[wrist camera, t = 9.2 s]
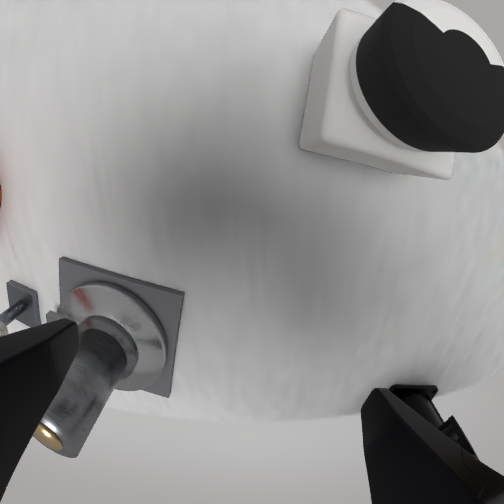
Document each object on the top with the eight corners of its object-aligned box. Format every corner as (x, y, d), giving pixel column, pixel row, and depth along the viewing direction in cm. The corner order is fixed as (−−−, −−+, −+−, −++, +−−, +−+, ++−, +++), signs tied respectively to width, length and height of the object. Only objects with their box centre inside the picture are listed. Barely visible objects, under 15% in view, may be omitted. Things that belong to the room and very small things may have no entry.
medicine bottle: (394, 174, 18) (523, 197, 7) (297, 148, 18) (359, 125, 6) (406, 83, 16) (522, 36, 5) (313, 53, 16) (371, -53, 4)
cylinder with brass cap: (128, 316, 19) (57, 415, 10) (146, 375, 21) (100, 476, 11) (70, 313, 20) (-7, 391, 10) (90, 368, 21) (35, 451, 11)
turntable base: (184, 292, 21) (182, 296, 20) (170, 393, 24) (168, 397, 24) (62, 256, 20) (58, 258, 20) (69, 357, 24) (66, 360, 23)
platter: (173, 302, 20) (169, 309, 19) (163, 395, 23) (159, 404, 22) (49, 262, 20) (41, 267, 19) (58, 355, 23) (52, 362, 21)
